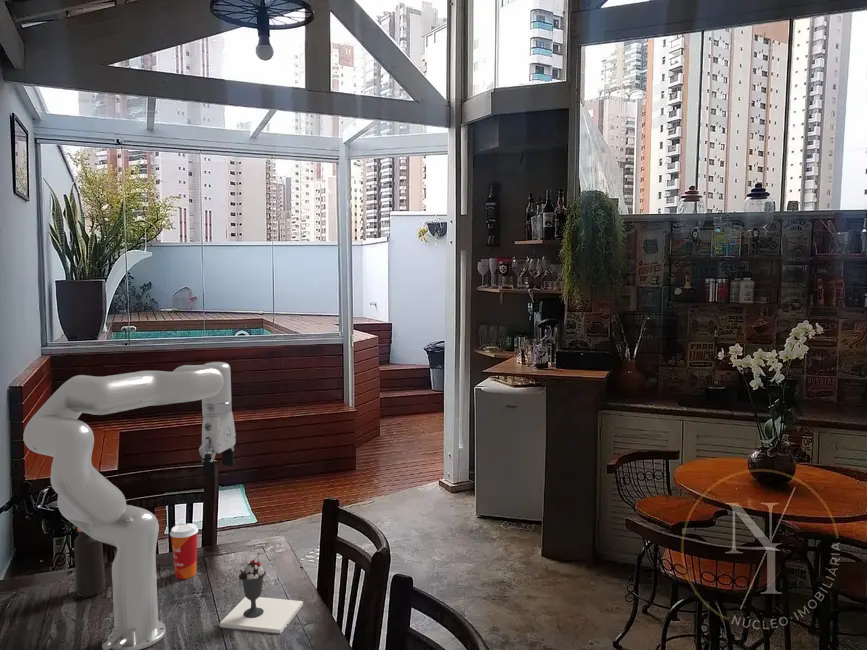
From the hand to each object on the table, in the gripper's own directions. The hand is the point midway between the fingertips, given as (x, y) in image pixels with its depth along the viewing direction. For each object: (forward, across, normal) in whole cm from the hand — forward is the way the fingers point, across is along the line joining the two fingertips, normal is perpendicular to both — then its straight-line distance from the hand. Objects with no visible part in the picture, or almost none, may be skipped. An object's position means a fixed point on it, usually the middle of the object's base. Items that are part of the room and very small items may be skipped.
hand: (219, 470), depth 180 cm
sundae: (+32, -12, -15) cm, 38 cm away
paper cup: (+34, +6, +15) cm, 37 cm away
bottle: (+34, -8, +35) cm, 49 cm away
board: (+33, -11, -17) cm, 39 cm away
